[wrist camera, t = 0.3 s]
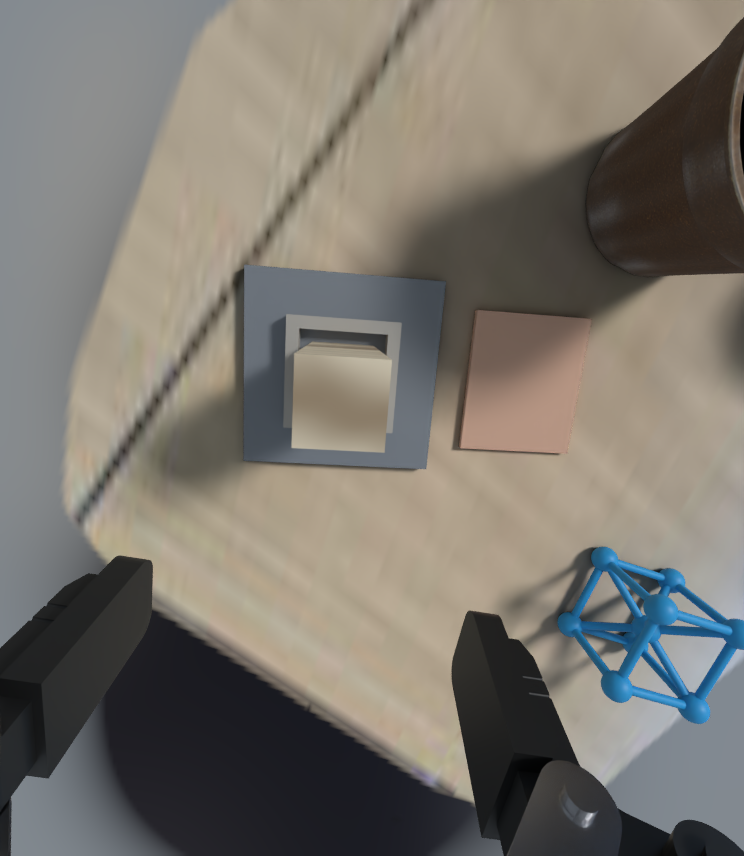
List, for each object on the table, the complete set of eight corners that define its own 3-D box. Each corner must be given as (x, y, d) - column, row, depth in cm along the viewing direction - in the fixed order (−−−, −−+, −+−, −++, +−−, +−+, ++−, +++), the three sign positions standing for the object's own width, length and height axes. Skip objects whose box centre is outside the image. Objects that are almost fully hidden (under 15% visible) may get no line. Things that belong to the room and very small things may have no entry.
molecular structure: (592, 539, 43) (665, 602, 33) (677, 567, 44) (771, 635, 35) (549, 623, 45) (606, 705, 35) (632, 647, 46) (708, 733, 37)
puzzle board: (247, 266, 35) (239, 262, 33) (443, 282, 36) (450, 279, 34) (245, 457, 39) (239, 466, 36) (424, 465, 40) (429, 474, 38)
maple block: (312, 341, 36) (294, 353, 22) (373, 345, 36) (392, 360, 23) (310, 401, 37) (291, 448, 23) (369, 405, 37) (384, 452, 24)
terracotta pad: (475, 310, 37) (477, 309, 36) (588, 318, 38) (592, 318, 37) (458, 446, 40) (460, 448, 39) (564, 451, 41) (567, 453, 40)
